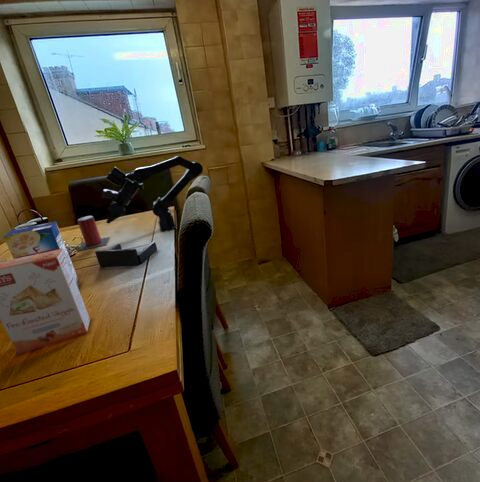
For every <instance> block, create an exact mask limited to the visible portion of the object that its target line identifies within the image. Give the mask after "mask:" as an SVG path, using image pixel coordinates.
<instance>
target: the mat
mask: <svg viewBox="0 0 480 482" xmlns="http://www.w3.org/2000/svg"><path fill="white" fill-rule="evenodd" d="M109 239H110V237H109V236H108V237H103V238H101V240H102V242H101V243H100V244H98V245H94V246H86V244H85V241H83V242H82V244H80V247H79V248H78V250H77V252H81V251H87V250H90V249H96V248H100V247H105V246H107V244H108V241H109Z"/></svg>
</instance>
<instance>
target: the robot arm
mask: <svg viewBox="0 0 480 482" xmlns="http://www.w3.org/2000/svg"><path fill="white" fill-rule="evenodd" d="M177 166H180V167H183V168H184V169H186V170H185V172H184V173H183V176H182V177H180V179H179V180H178V181H177V182H176V183H175V184H174V185H173V186H172V188H171V189H170V190H169V191H168V192H167V193H166V194H165V195H164V196H163V197H160V196H158V197H157V199H156V200H155V201H153V202H152V203H153V204H152V213H153V215H154V216H156V217H157V218H158V220H157V224H158V228H159V230H160V231H161V232H167V231H171V230H175V229H177V226H176V224H175V219H174V216H173V215H172V212H171V208H169V207H170V205H171V204H172V202H173V201H174V200H175V199H176V197H177V196H178V195H179V194H180V193H181V192H182V191H183V190H184V189H185V188H186V187H187V185H188V184H189V183H190V182H191V181H194V179H196V178H197V177H199V176H200V175H201V174H202V173H203V171H204V166H203V165H202V164H201V163H200V162H199V161H190V160H188V159H187V158H183V157H182V156H180V155H176V156H174V157H172V158H170V159H167V160H164V161H161V162H158V163H156V164H153V165H149V166H141V167H137V168H135V169H134V170H133V171H130V172H128V173H125V172H124V171H123V170H121V169H120V168H118V167H117V166H114V167H113V168H112V170H111V171H110V172H109V173H108V175H107V176H106V178H105V180H106V181H107V182H109V183H111V184H113V185H115V186H117V187H120V186H121V187H122V188H121V189H120V190H119V191H116V190H112V189H107V188H104V189H103V190H102V196H101V198H103V199H109V200H112V202H111V203H110V205H109V206H108V211H109V214H108V216H107V219H106V221H105V223H106V224H107V225H109V224H110V223H113V222H114V221H116V220H118V219H119V218H120V217H122V216H124V214H125V212H126V208H128V206H129V204H130V202H131V201H132V200H133V198H134V197H135V195H136V194H137V192H138V191H139V189H140V190H141V191H144V190H145V187H144V183H143V182H145V181H146V180H148V179H150V178H151V177H153V176H154V175H156V174H159V173H162V172H164V171H166V170H169V169H172V168H175V167H177Z"/></svg>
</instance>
